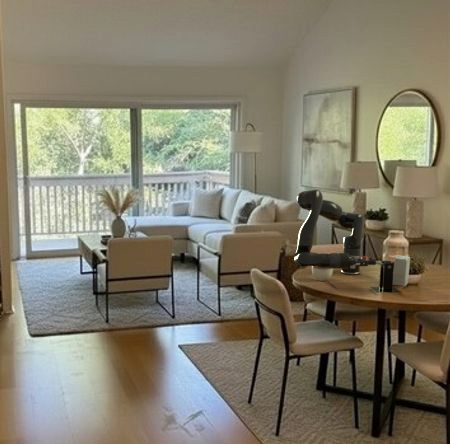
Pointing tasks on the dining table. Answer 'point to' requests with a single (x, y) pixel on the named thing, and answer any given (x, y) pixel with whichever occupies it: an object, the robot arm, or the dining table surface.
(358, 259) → the robot arm
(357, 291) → the dining table surface
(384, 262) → the lever
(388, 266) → the bracket
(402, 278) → the cosmetic box
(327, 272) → the trinket box
